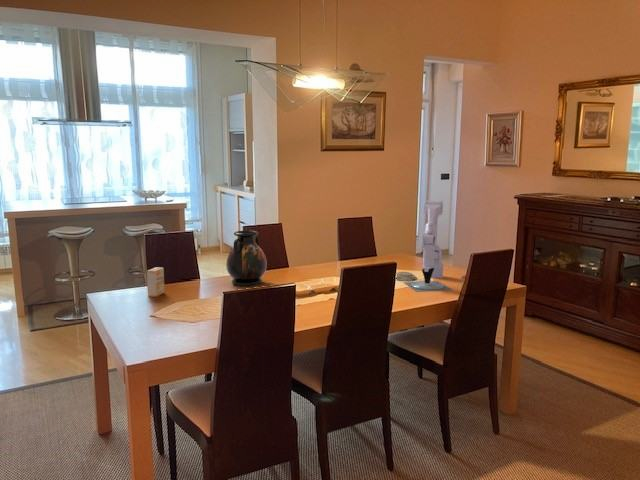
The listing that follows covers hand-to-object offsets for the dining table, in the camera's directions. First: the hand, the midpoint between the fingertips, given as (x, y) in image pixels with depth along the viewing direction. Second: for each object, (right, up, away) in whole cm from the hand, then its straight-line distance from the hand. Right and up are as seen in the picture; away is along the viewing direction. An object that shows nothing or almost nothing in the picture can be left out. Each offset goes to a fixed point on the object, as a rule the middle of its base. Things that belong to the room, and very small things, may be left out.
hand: (427, 282), depth 269 cm
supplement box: (-137, -5, -16) cm, 138 cm away
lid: (0, -2, 0) cm, 2 cm away
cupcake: (+22, -3, -1) cm, 22 cm away
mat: (0, -2, 0) cm, 2 cm away
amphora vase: (-96, -1, +7) cm, 96 cm away
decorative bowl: (-9, 0, +18) cm, 20 cm away
